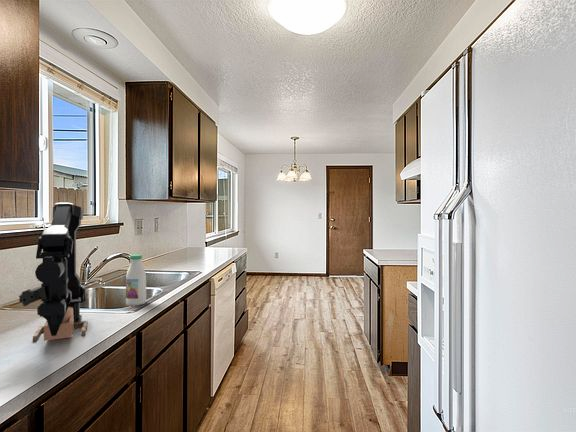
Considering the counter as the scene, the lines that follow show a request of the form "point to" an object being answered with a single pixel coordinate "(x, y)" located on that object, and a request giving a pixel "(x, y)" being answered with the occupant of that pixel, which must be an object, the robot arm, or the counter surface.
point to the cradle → (76, 325)
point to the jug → (62, 327)
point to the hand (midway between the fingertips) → (56, 330)
